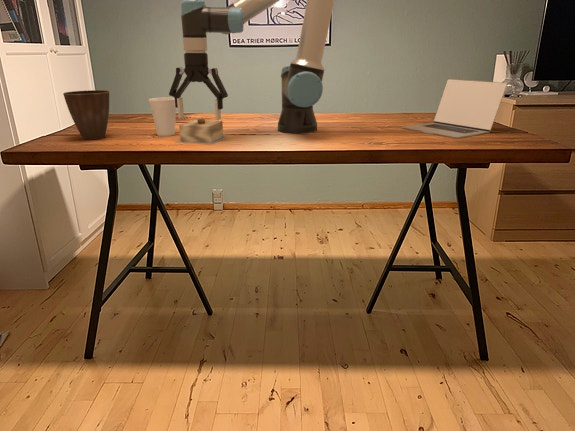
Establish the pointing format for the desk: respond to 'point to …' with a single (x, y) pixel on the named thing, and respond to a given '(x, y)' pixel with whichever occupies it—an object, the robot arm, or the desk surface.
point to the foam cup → (164, 115)
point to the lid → (201, 131)
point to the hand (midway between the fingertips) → (199, 118)
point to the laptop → (465, 109)
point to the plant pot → (89, 112)
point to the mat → (204, 143)
